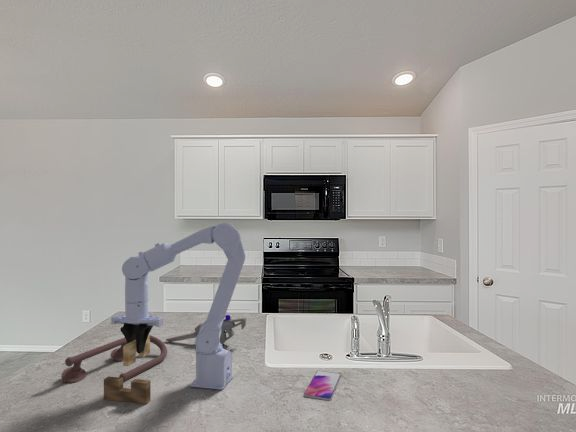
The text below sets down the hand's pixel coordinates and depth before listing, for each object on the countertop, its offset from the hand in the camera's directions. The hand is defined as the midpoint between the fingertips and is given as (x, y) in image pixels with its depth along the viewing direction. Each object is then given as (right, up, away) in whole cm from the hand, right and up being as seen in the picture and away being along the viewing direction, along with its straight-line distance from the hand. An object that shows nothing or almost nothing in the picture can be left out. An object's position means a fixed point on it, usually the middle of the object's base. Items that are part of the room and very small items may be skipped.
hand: (137, 351), depth 93 cm
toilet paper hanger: (-10, -10, +12) cm, 19 cm away
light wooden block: (0, -2, 0) cm, 2 cm away
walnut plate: (+1, -9, -7) cm, 12 cm away
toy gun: (+10, -10, +33) cm, 36 cm away
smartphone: (+50, -9, 0) cm, 51 cm away
